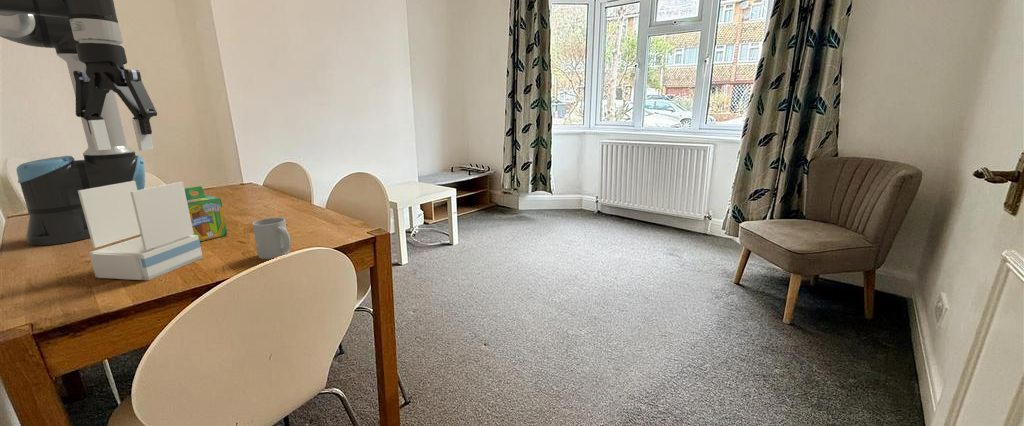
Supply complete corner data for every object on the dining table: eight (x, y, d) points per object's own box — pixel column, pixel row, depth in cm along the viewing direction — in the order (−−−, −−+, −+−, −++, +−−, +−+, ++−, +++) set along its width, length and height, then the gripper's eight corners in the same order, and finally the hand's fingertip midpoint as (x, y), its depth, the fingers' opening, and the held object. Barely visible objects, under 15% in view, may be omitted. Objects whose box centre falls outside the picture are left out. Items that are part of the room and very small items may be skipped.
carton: (92, 278, 95) (85, 253, 94) (157, 254, 110) (152, 232, 109) (146, 281, 93) (140, 255, 92) (205, 257, 108) (200, 234, 107)
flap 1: (93, 247, 95) (77, 190, 92) (145, 232, 107) (133, 180, 103) (95, 247, 95) (80, 190, 92) (147, 232, 107) (135, 180, 103)
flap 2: (144, 249, 93) (130, 191, 90) (191, 233, 105) (180, 181, 102) (146, 250, 93) (132, 191, 90) (193, 233, 105) (182, 181, 101)
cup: (277, 248, 114) (272, 216, 112) (303, 253, 110) (299, 220, 108) (251, 257, 108) (245, 223, 105) (278, 262, 103) (273, 227, 101)
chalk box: (193, 244, 118) (182, 192, 115) (178, 239, 123) (167, 188, 120) (229, 235, 126) (220, 186, 122) (214, 231, 131) (204, 183, 127)
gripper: (32, 43, 87) (62, 151, 93) (128, 39, 84) (153, 151, 90) (73, 47, 94) (99, 147, 100) (164, 44, 91) (185, 148, 97)
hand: (125, 149), depth 95 cm, fingers open, 10 cm apart
